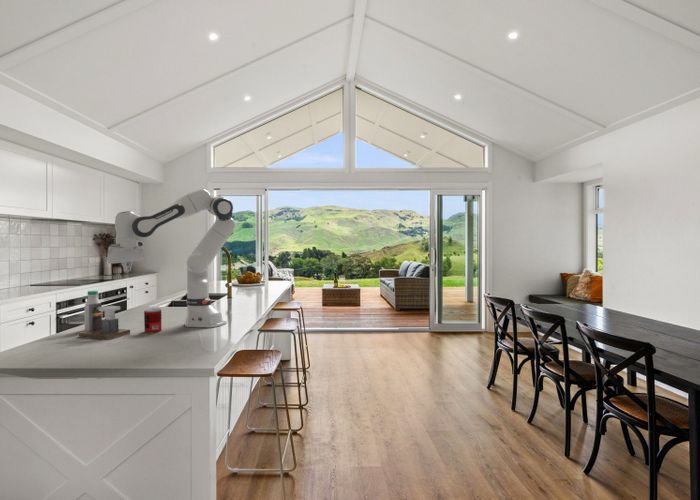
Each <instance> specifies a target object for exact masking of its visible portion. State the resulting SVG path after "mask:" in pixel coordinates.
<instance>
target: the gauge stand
mask: <svg viewBox="0 0 700 500" xmlns="http://www.w3.org/2000/svg"><path fill="white" fill-rule="evenodd" d="M101 306H102V303H101V302H100V303H95V304H89V331H85V330H84V331H80V332H78V338H86V339H92V340H93V339H95V340H103V341H108V340H112V339H113V340H114V339H116V338H120V337H124V336H128V335H130V334H131V329H126V328H125V329H124V328H119V318H115V319H114V320H105V318H104V319H102V320H101V315H100V316H95V314H97V313H103V311H102V312H101V311H99V310H96V307H101Z"/></svg>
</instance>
